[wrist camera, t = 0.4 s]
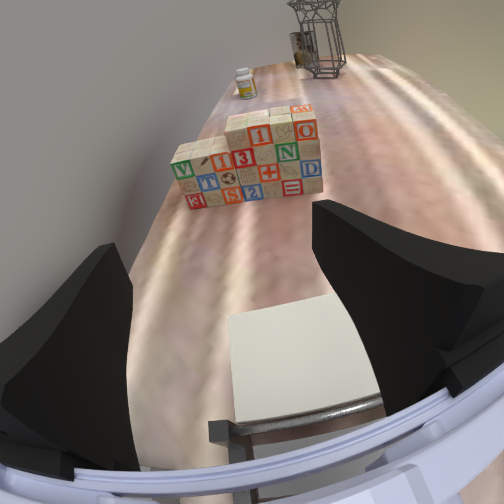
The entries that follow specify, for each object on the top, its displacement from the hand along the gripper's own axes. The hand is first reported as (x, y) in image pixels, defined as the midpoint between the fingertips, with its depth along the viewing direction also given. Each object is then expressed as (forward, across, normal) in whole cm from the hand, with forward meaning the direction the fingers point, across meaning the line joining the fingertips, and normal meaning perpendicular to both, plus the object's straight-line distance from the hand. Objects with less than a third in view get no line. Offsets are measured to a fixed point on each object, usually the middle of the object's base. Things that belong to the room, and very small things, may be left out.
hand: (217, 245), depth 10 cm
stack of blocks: (+34, -7, +14) cm, 38 cm away
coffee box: (+112, -49, -5) cm, 122 cm away
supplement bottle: (+86, -18, +4) cm, 87 cm away
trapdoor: (0, -6, +17) cm, 18 cm away
